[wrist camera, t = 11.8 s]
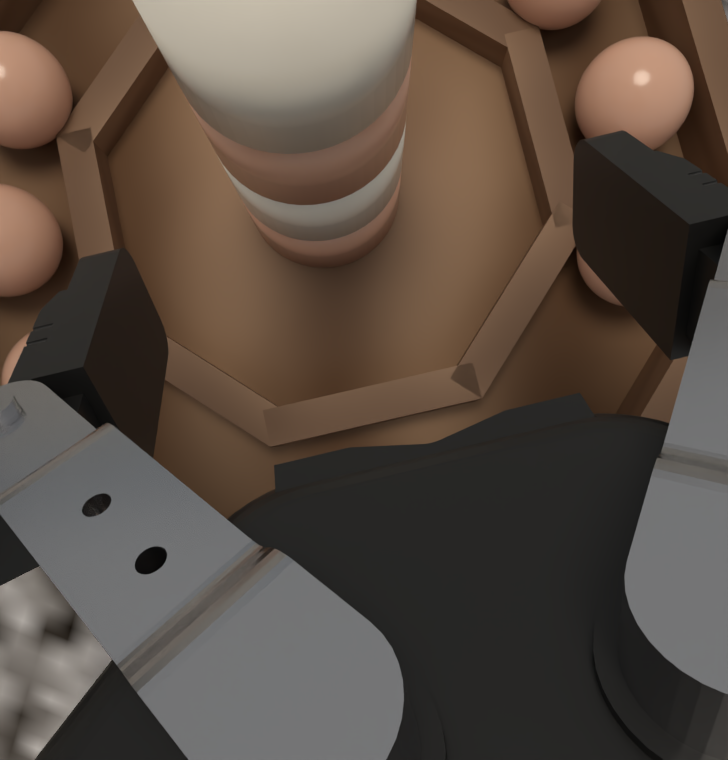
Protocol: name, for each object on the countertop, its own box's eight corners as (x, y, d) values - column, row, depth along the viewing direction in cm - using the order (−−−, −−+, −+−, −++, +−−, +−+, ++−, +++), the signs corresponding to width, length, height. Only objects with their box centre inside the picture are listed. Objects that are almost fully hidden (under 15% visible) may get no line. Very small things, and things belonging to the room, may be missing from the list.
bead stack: (266, 282, 19) (147, 106, 9) (235, 140, 20) (91, -174, 10) (414, 249, 19) (454, 36, 9) (380, 108, 20) (384, -239, 10)
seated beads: (13, 456, 19) (-56, 458, 16) (-50, 90, 20) (-125, 28, 17) (714, 296, 19) (778, 268, 16) (612, -59, 20) (654, -146, 17)
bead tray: (23, 666, 19) (-42, 707, 16) (-98, -53, 22) (-174, -133, 19) (795, 488, 19) (872, 495, 16) (592, -207, 22) (627, -312, 19)
